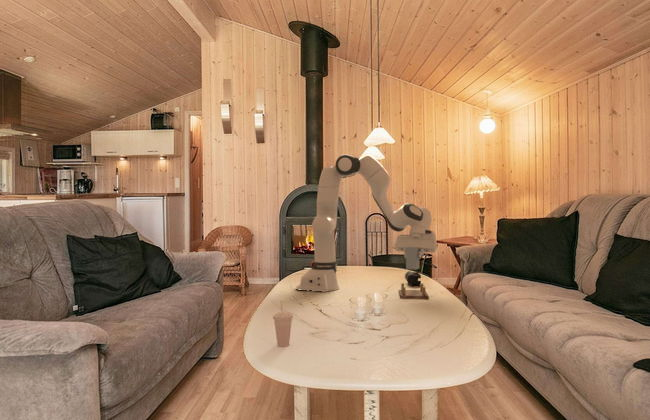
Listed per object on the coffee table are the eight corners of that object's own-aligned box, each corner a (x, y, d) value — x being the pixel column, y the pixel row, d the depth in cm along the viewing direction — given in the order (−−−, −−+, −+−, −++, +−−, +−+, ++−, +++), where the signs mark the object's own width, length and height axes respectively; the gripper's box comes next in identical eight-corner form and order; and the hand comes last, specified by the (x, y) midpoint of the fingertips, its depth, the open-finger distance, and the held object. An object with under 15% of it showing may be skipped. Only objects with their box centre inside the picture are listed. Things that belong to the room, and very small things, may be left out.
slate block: (406, 268, 201) (405, 247, 201) (409, 267, 205) (409, 246, 205) (416, 269, 198) (416, 248, 198) (419, 268, 203) (419, 247, 203)
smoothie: (283, 340, 139) (282, 298, 139) (297, 344, 135) (296, 300, 135) (269, 345, 134) (268, 301, 134) (283, 349, 130) (282, 304, 130)
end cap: (404, 283, 232) (404, 271, 232) (417, 283, 232) (417, 270, 232) (407, 286, 222) (407, 274, 222) (421, 286, 222) (420, 274, 222)
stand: (400, 298, 196) (399, 288, 196) (398, 292, 209) (398, 282, 209) (428, 298, 195) (428, 288, 195) (425, 292, 208) (425, 283, 208)
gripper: (396, 230, 213) (389, 252, 204) (437, 231, 203) (432, 254, 194) (399, 238, 217) (393, 260, 208) (439, 240, 207) (434, 262, 198)
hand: (412, 257), depth 201 cm, fingers closed on slate block, 5 cm apart
